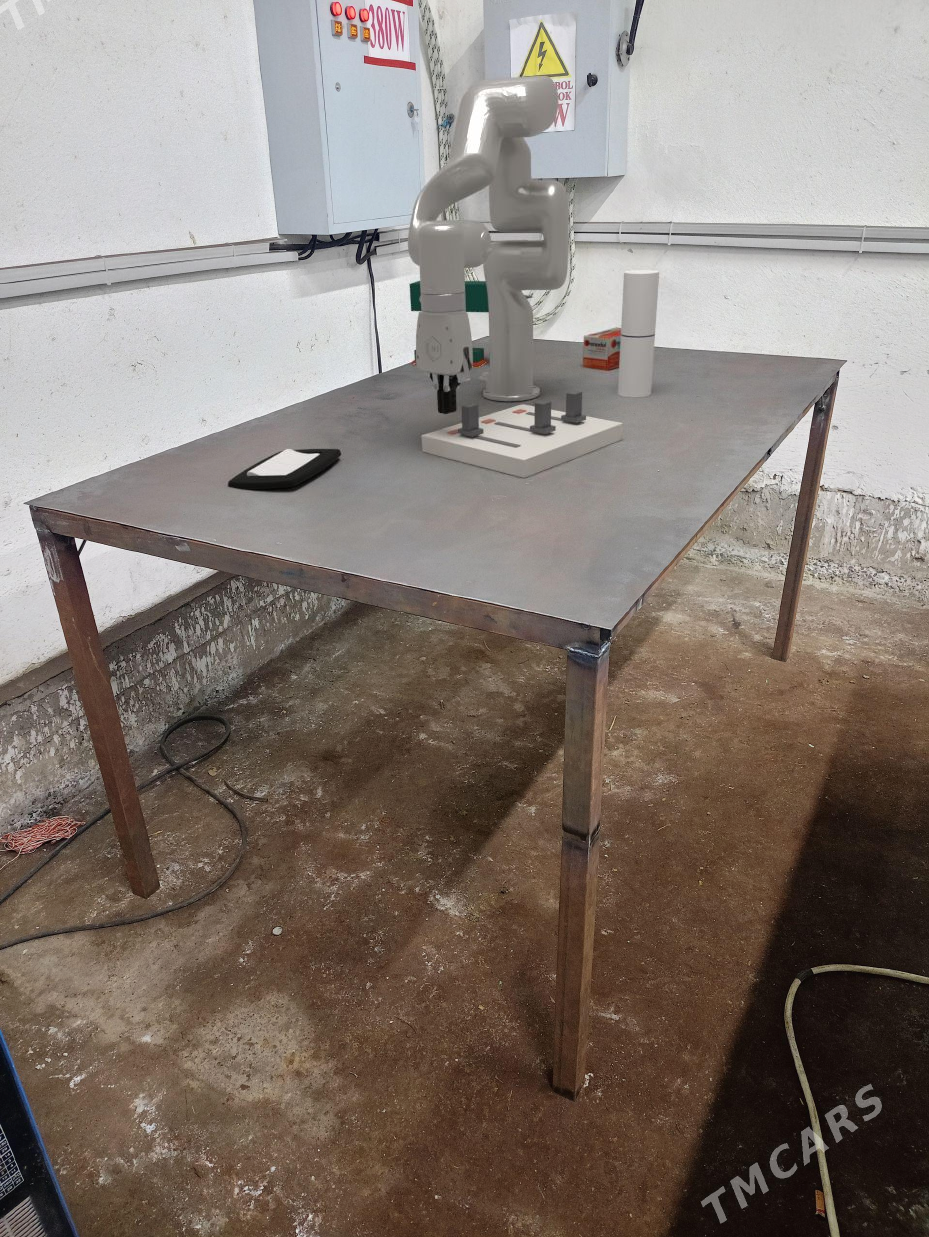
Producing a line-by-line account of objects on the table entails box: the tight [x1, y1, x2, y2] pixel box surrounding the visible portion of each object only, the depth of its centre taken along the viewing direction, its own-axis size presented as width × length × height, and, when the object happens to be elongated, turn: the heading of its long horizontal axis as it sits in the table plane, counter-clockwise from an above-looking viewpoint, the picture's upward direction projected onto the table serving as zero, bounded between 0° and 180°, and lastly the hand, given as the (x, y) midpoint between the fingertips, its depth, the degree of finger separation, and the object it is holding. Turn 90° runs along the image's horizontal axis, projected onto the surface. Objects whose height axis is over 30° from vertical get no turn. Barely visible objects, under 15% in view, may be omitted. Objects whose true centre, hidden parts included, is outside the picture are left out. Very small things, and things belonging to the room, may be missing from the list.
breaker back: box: [561, 390, 587, 423], centre depth 156 cm, size 4×3×5 cm
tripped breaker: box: [458, 402, 483, 437], centre depth 150 cm, size 4×3×5 cm
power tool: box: [409, 280, 533, 367], centre depth 217 cm, size 32×7×20 cm, turn 71°
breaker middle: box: [530, 400, 556, 434], centre depth 150 cm, size 4×3×5 cm
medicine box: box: [582, 326, 621, 372], centre depth 215 cm, size 15×8×8 cm, turn 138°
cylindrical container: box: [617, 269, 660, 399], centre depth 182 cm, size 7×7×25 cm
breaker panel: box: [421, 403, 624, 479], centre depth 155 cm, size 24×28×3 cm
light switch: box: [227, 448, 342, 490], centre depth 146 cm, size 20×3×14 cm
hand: (447, 412), depth 153 cm, fingers closed
